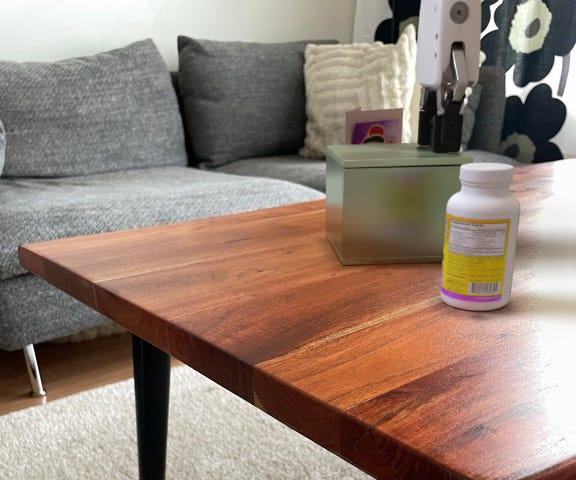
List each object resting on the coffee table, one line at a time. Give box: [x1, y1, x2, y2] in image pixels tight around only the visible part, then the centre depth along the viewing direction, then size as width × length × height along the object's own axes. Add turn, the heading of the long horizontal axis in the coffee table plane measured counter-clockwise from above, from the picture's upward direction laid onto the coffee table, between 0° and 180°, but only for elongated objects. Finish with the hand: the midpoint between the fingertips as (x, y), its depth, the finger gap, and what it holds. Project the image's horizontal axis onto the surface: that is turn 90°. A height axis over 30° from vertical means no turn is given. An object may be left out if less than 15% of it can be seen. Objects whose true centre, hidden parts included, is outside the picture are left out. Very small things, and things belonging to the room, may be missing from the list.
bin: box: [324, 152, 463, 266], centre depth 88 cm, size 14×15×11 cm
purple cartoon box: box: [344, 106, 404, 145], centre depth 106 cm, size 11×7×15 cm, turn 129°
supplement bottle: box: [440, 162, 522, 312], centre depth 68 cm, size 7×7×13 cm
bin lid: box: [325, 113, 474, 168], centre depth 84 cm, size 14×15×5 cm
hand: (438, 147), depth 85 cm, fingers closed on bin lid, 6 cm apart
